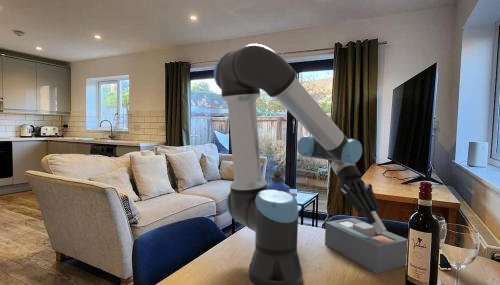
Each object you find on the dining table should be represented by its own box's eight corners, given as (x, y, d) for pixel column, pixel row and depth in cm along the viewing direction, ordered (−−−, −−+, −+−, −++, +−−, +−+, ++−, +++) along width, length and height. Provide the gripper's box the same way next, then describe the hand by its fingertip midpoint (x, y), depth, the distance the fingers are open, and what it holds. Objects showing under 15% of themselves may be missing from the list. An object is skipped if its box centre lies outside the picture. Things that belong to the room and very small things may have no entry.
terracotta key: (394, 251, 91) (395, 240, 91) (382, 253, 89) (383, 243, 89) (381, 244, 96) (381, 235, 96) (369, 247, 94) (370, 237, 94)
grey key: (375, 236, 98) (375, 226, 98) (363, 238, 96) (364, 229, 96) (363, 231, 102) (363, 222, 102) (352, 233, 100) (352, 224, 100)
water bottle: (292, 234, 117) (293, 170, 115) (281, 241, 109) (283, 173, 107) (271, 229, 121) (272, 168, 120) (259, 236, 114) (260, 171, 112)
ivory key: (357, 234, 105) (358, 225, 105) (346, 236, 103) (347, 227, 103) (347, 229, 109) (347, 221, 109) (336, 231, 107) (337, 222, 107)
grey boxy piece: (407, 265, 92) (408, 238, 91) (376, 273, 86) (377, 245, 86) (352, 238, 113) (353, 216, 112) (324, 244, 107) (325, 221, 107)
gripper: (353, 175, 112) (389, 234, 98) (326, 177, 106) (359, 240, 92) (365, 163, 107) (404, 223, 93) (336, 164, 101) (373, 229, 87)
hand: (381, 231), depth 92 cm, fingers closed
